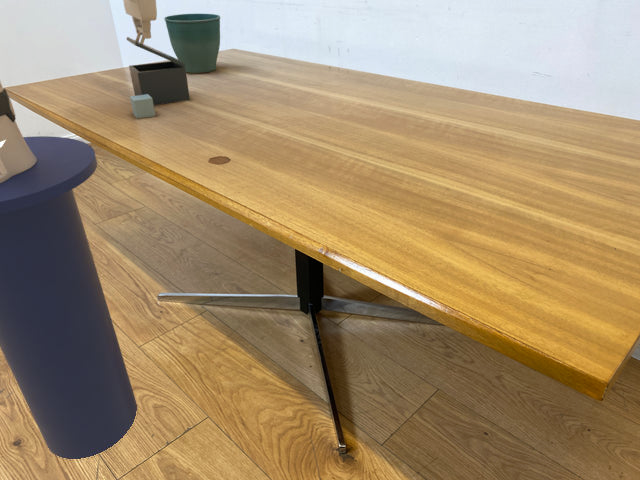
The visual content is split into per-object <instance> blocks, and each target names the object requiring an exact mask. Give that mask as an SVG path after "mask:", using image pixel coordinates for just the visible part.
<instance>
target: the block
mask: <svg viewBox="0 0 640 480" xmlns="http://www.w3.org/2000/svg"><path fill="white" fill-rule="evenodd" d="M129 99H130V104H131V108H132V114H133V115H134V116H135V117H136V119H145V118H151V117H156V111H155V105H153V100H152V97H150V96H149V95H148V94H145V95H138V96H135V95H131V96H129Z"/></svg>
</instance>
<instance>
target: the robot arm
mask: <svg viewBox="0 0 640 480" xmlns="http://www.w3.org/2000/svg"><path fill="white" fill-rule="evenodd" d="M122 2H123V6H124V11H125V14H126V15H129V16H131V18H132V22H133V25H134V28H135V32H136V33H135V34H136V35H137V34H138V30H137V27H138V26H139V25H142V33H141V36H142V35H143V37H144V38H145V40H147V39H152V32H151V28H152V22H153V21H157V17H158V10H157V0H123V1H122ZM151 21H152V22H151ZM16 116H17V115H16V112H15V108H14V106H13V103H12V100H11V98H10V95H9V94H8V91H7V90H6V89H5V88H4V87H3V84H2V82H1V80H0V183H2V182H4V181H6V180H7V179H9V178H10V177H12V176H14V175H17V174H19V173H21V172H24V171H26V170H28V169H29V168H31V167H32V166H34V165H35V163H36V162H37V158H36V157H35V155H34V154H33V153H32V151H31V150H30V148H29V147H28V145H27V143H26V142H25V140H24V138H23V137H24V136H23V134H22V132H21V130H20V128H19V125H18V123H17V121H16V119H17V118H16Z"/></svg>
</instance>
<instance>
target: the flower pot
mask: <svg viewBox="0 0 640 480" xmlns="http://www.w3.org/2000/svg"><path fill="white" fill-rule="evenodd" d="M163 18H164V21H165V26H166V29H167V32H168V33H167V34H168V38H169V42H170V45H171V48H172V50H173V52H174V55H175V56H176V59H177V60H179V61H181V62H183V63H184V64H185V69H186V73H189V74H203V73H210V72H213V71H215V70H216V69H217V62H218V56H219V52H220V46H221V15H219V14H216V13H180V14H172V15H167V16H165V17H163Z"/></svg>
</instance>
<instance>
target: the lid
mask: <svg viewBox="0 0 640 480" xmlns="http://www.w3.org/2000/svg"><path fill="white" fill-rule="evenodd" d="M137 30H138V34H137V33H136V37H135V39H133V38H131V37H130V36H127V37H126V41H128V42H129V43H130V44H131V45H134V46H135V47H138V48H140V49H142V50H145V51H146V52H149V53H152V54H154V55H156V56H158V57H161V58H163V59H165V60H167V61H172V62H174V63H176V64H179V65H181V66H183V67H185V64H184V63H183V62H181V61H179V60H178V59H177V57H174V56H172V55H169V54H167V53H165V52H163V51H160V50H158V49H156V48H154V47H152V46H149V45H147V44H144V43H145V40H146V39H145V38H144V37H143V35H141V33H142V25H139V26H138V27H137Z"/></svg>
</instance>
